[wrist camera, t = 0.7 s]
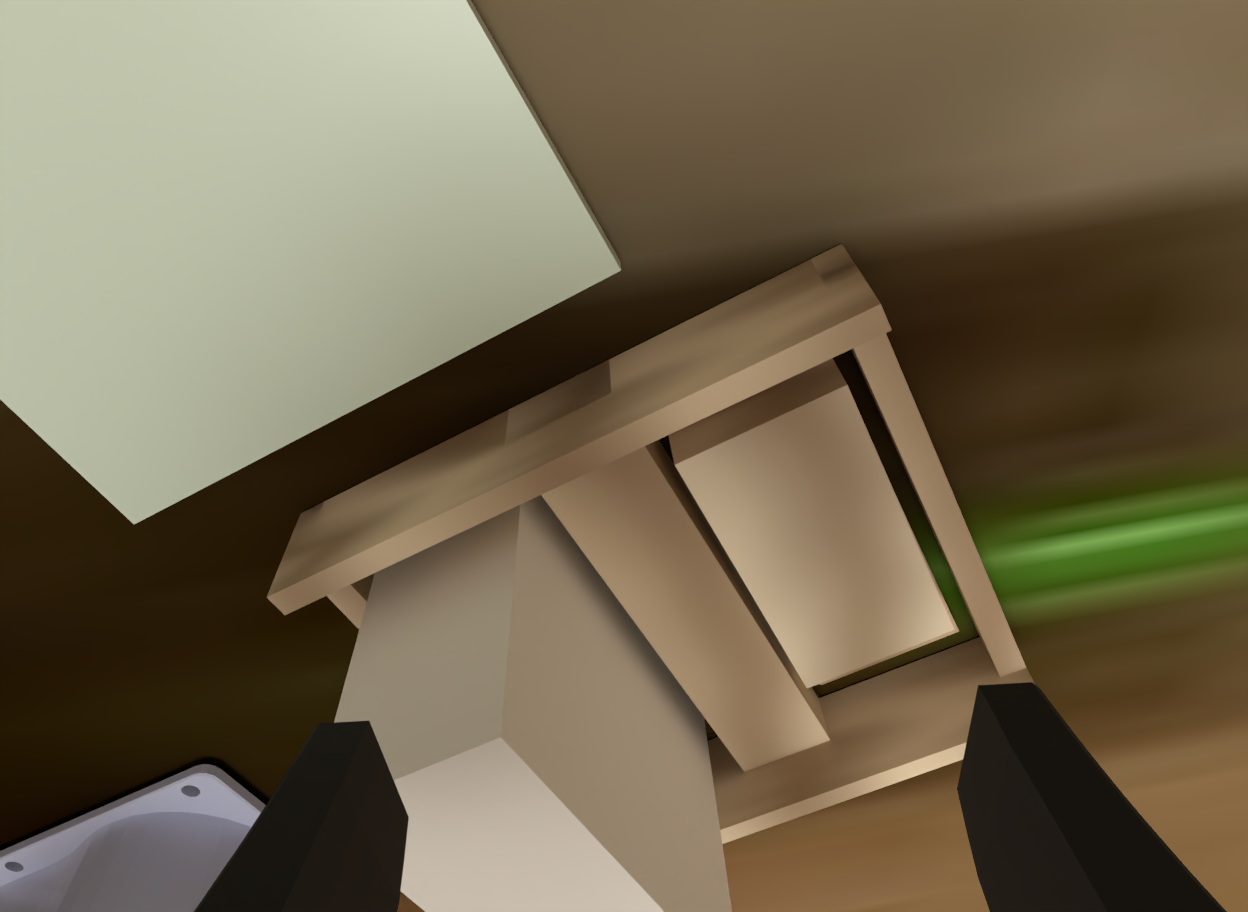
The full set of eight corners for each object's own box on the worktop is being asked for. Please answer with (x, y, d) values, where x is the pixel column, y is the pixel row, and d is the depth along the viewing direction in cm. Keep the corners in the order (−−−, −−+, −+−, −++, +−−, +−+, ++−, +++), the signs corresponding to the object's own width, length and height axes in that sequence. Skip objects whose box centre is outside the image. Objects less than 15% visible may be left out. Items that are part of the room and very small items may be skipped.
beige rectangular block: (583, 760, 28) (585, 1045, 22) (385, 534, 23) (308, 814, 17) (703, 714, 27) (743, 996, 21) (523, 468, 22) (500, 737, 16)
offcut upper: (796, 655, 25) (806, 688, 24) (668, 435, 21) (674, 465, 20) (937, 597, 25) (954, 629, 24) (832, 358, 21) (847, 385, 20)
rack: (573, 806, 29) (572, 896, 27) (300, 513, 23) (266, 597, 20) (1010, 641, 26) (1055, 726, 24) (841, 243, 20) (880, 303, 17)
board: (142, 512, 23) (134, 524, 22) (-417, -20, 16) (-444, -17, 16) (620, 260, 20) (621, 270, 19) (173, -521, 13) (160, -531, 13)
